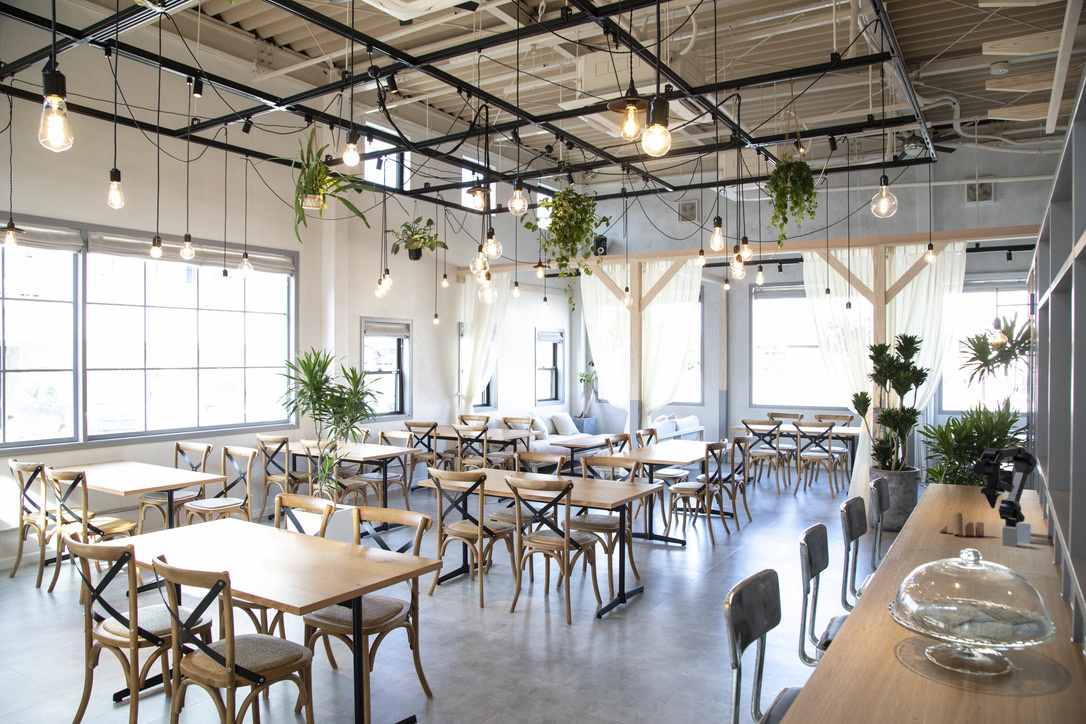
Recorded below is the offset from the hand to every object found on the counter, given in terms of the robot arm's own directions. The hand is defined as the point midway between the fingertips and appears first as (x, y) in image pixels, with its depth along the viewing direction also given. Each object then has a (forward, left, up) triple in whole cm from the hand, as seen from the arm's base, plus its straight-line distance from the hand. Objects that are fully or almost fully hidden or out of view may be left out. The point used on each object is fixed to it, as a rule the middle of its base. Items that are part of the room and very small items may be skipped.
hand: (992, 508), depth 340 cm
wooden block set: (+8, -12, -14) cm, 19 cm away
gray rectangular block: (+17, +8, -13) cm, 23 cm away
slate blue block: (+4, +12, -13) cm, 18 cm away
